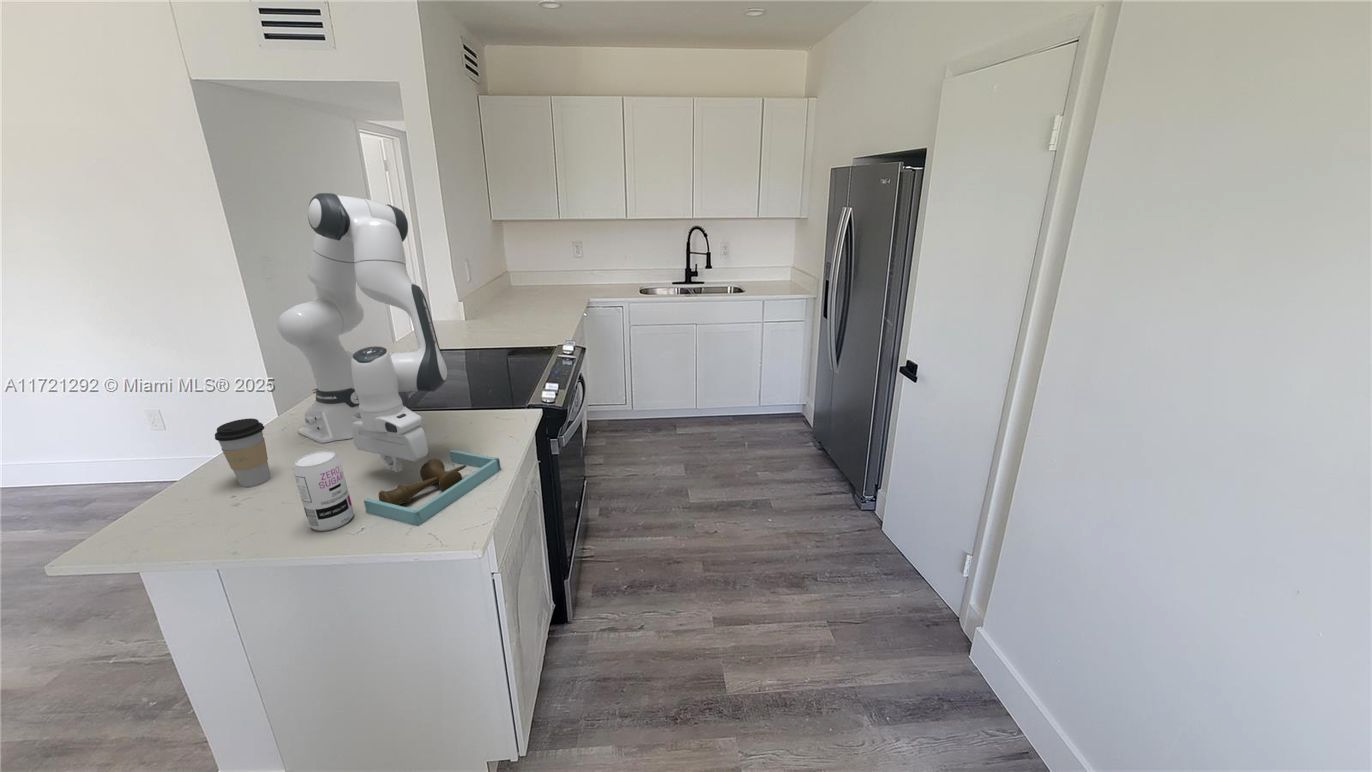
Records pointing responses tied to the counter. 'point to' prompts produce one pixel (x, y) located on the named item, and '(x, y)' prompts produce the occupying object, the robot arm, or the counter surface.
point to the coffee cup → (245, 450)
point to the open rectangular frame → (444, 499)
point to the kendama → (423, 482)
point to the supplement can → (323, 490)
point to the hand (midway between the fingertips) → (395, 470)
